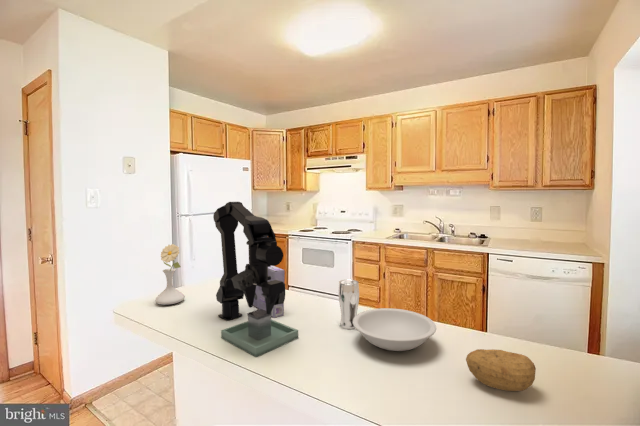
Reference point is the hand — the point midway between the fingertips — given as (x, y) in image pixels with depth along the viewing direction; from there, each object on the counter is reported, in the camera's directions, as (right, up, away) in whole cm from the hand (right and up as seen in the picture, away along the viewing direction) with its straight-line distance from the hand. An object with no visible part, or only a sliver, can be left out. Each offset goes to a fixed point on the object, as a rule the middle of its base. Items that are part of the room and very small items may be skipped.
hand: (259, 310), depth 100 cm
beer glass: (+29, -8, +10) cm, 31 cm away
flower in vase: (-43, -8, +35) cm, 56 cm away
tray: (0, -9, +1) cm, 9 cm away
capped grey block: (0, -8, 0) cm, 8 cm away
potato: (+60, -10, -26) cm, 66 cm away
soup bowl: (+41, -9, -4) cm, 42 cm away
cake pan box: (-1, -8, +25) cm, 26 cm away
